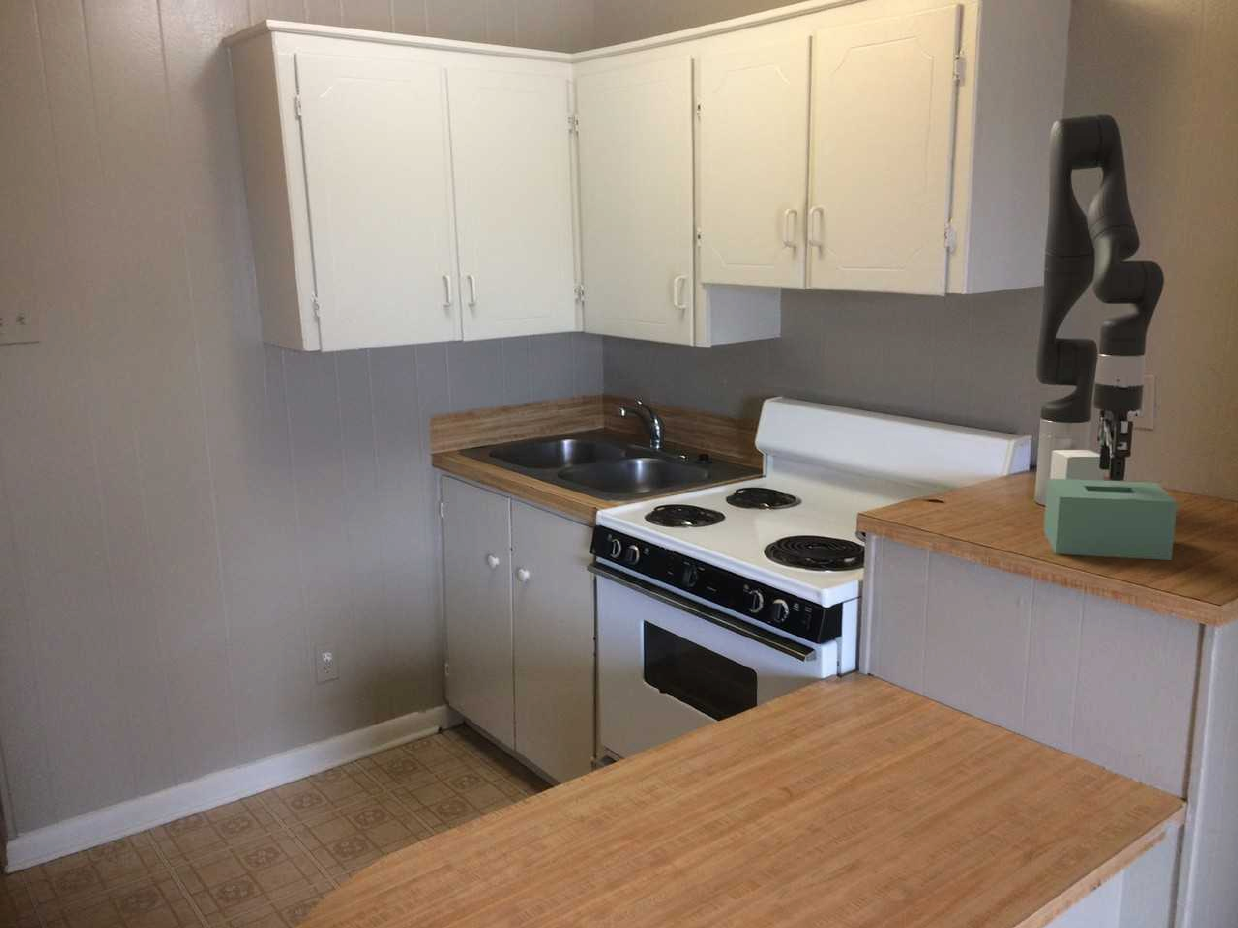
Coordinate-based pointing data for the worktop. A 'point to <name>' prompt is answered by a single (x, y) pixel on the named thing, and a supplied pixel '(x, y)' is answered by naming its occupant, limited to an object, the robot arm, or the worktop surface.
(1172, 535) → the money box
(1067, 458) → the supplement box
